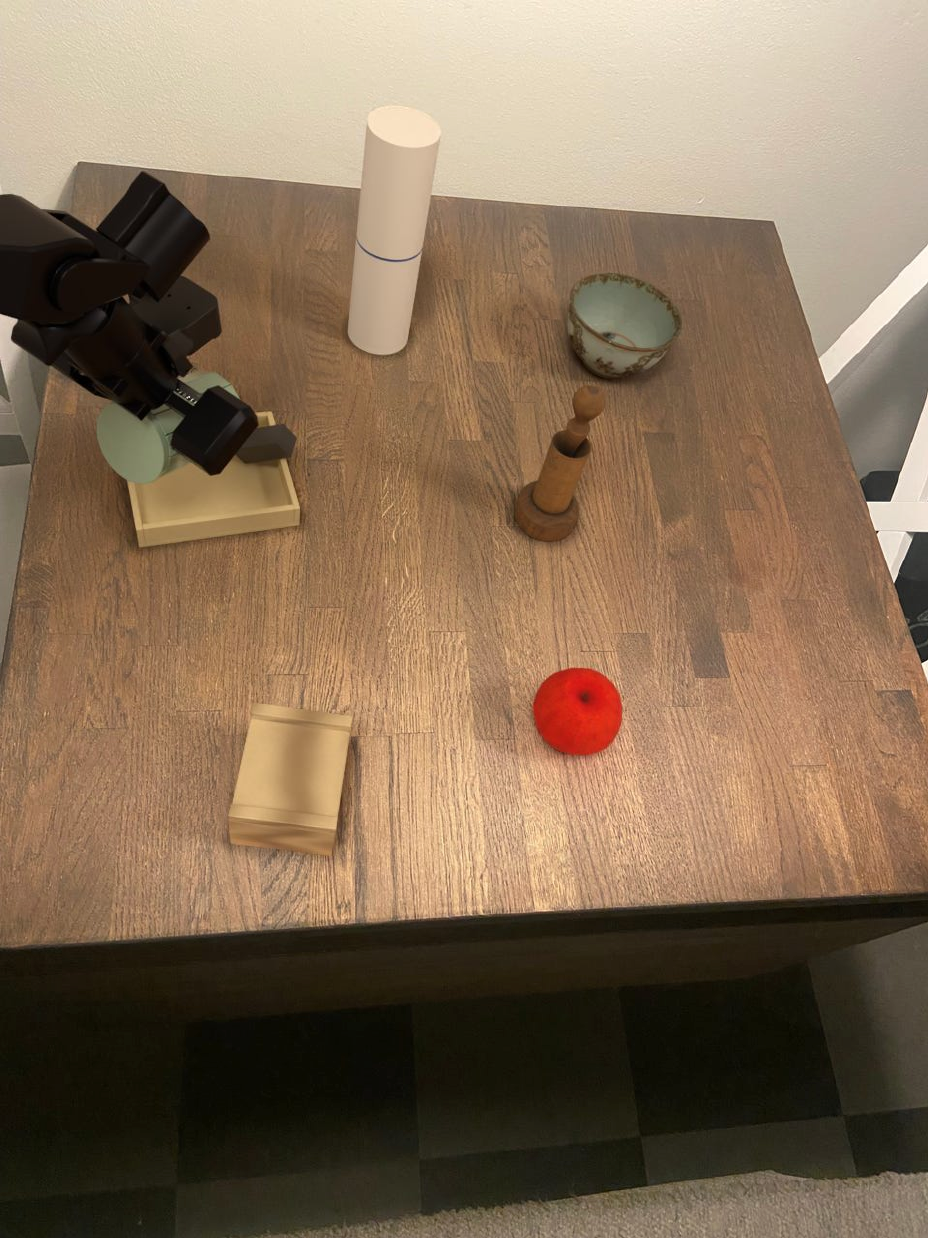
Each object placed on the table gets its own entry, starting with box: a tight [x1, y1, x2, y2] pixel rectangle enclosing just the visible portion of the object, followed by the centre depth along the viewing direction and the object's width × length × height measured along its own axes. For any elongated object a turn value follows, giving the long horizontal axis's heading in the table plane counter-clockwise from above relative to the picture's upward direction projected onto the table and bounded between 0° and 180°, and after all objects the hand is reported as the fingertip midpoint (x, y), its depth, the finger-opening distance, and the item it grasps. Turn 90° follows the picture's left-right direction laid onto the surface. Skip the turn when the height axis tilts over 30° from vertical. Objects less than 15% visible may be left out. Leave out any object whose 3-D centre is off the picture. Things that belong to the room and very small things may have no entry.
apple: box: [532, 667, 624, 756], centre depth 80 cm, size 8×8×7 cm
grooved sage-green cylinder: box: [95, 370, 241, 484], centre depth 80 cm, size 11×7×7 cm, turn 150°
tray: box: [126, 410, 301, 548], centre depth 90 cm, size 15×13×3 cm
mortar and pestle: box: [513, 384, 606, 543], centre depth 90 cm, size 7×6×18 cm
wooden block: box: [227, 701, 354, 857], centre depth 73 cm, size 8×10×6 cm
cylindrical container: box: [347, 105, 442, 356], centre depth 98 cm, size 7×7×25 cm
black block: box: [235, 423, 298, 464], centre depth 91 cm, size 6×2×2 cm
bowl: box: [566, 272, 683, 379], centre depth 110 cm, size 14×13×8 cm
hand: (186, 428), depth 82 cm, fingers closed on grooved sage-green cylinder, 7 cm apart
